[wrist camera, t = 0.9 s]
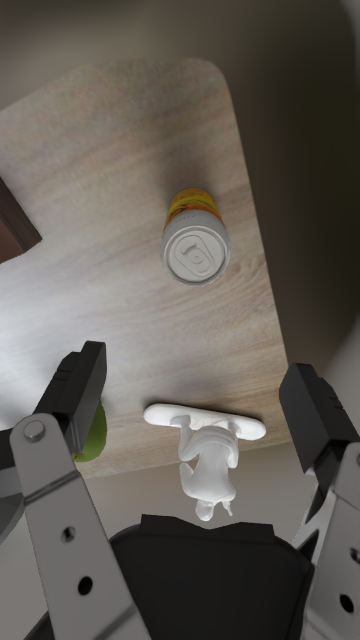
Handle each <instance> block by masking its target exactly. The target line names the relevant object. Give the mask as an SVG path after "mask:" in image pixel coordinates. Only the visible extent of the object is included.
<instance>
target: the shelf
mask: <svg viewBox="0 0 360 640" xmlns="http://www.w3.org/2000/svg"><path fill="white" fill-rule="evenodd" d="M41 240H42V238H41V237H40V235H39V234H38V232H37V231H36V229H35V228H34V226H33V225H32V223H31V222H30V220H29V219H28V217H27V216H26V214H25V213H24V212H23V210H22V209H21V207H20V206H19V204H18V203H17V201H16V200H15V198H14V197H13V195H12V194H11V192H10V191H9V189H8V188H7V186H6V185H5V184H4V182H3V181H2V179H1V178H0V264H1V263H3V262H5V261H7V260H10V259H12V258H14V257H17V256H19V255H21V254H23V253H25V252H27V251H28V250H29V249H31V248H32V247H33V246H35V245H36V244H37V243H39V242H40V241H41Z"/></svg>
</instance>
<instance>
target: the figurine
mask: <svg viewBox="0 0 360 640" xmlns="http://www.w3.org/2000/svg"><path fill="white" fill-rule="evenodd" d="M144 419H145V420H146V421H147V422H148V423H150V424H154V425H165V426H174V427H181V430H180V433H181V439H180V442H179V449H178V454H179V458H180V459H181V460H182V461H189V460H191V459H192V458H194V457H195V456H196V455H197V454H200V457H199V461H198V463H197V466H196V469H195V470H194V471H193V470H192V468H191V467H190V466H189V465H188V464H187V463H185V462H183V463H182V464H180V467H179V471H180V477H181V482H182V487H183V490H184V492H185V493H186V494H187V495H189V496H190V497H193V498H198V499H197V502H198V503H197V506H196V514H197V515H198V516H199V518H200V519H201V520H203V521H208V520H209V519H210V518H211V517H212V515H213V510H214V505H216V503H218V502H220V501H222V503H223V506H224V508H226V509H227V510H228V512H229V514H230V516H232V515H233V514H232V512H231V509H230V505H231V504H230V502H229V501H231V500H233V499H234V497H235V494H236V490H235V488H234V487H233V486H232V485H231V483H230V480H229V477H228V467H230V468H235V467H236V466H237V463H238V446H237V441H238V438H242V439H246V440H255V439H259V438H261V437H262V436H264V435H265V433H266V429H265V426H264V425H263V423H262V422H260V421H258V420H256V419H252V418H248V417H243V416H239V415H232V414H226V413H220V412H214V411H208V410H202V409H196V408H191V407H185V406H180V405H172V404H154V405H151V406H149V407H148V408H147V409H146V410H145V411H144ZM191 429H193V430H197V431H196V432H195V433H194V434H193V436H192V434H191V431H192V430H191Z"/></svg>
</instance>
